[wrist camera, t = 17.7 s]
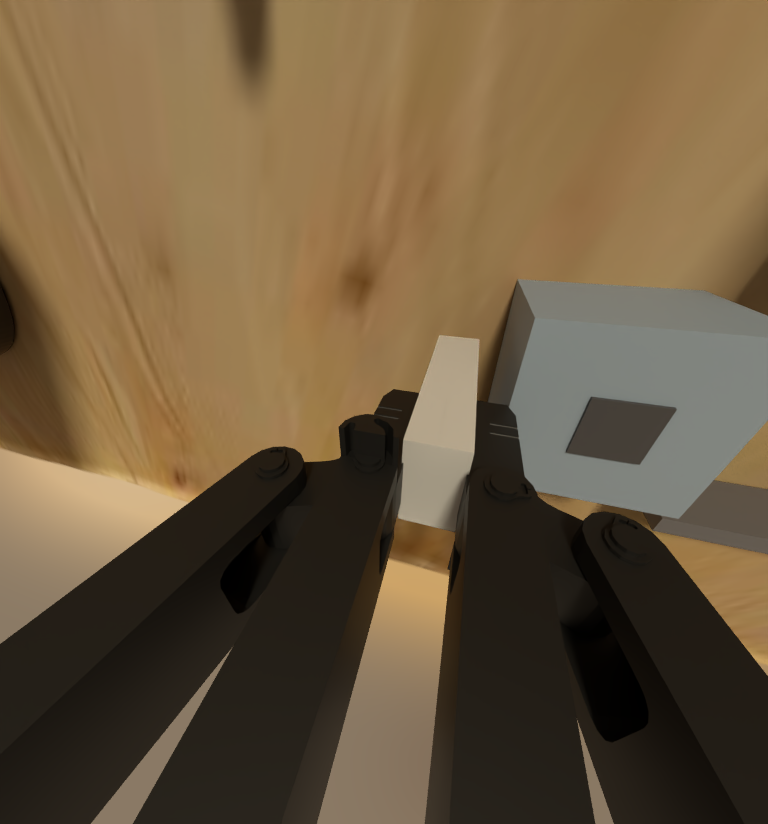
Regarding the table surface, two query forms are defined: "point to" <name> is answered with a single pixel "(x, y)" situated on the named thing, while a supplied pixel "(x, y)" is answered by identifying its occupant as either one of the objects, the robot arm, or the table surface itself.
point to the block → (630, 390)
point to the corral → (722, 517)
